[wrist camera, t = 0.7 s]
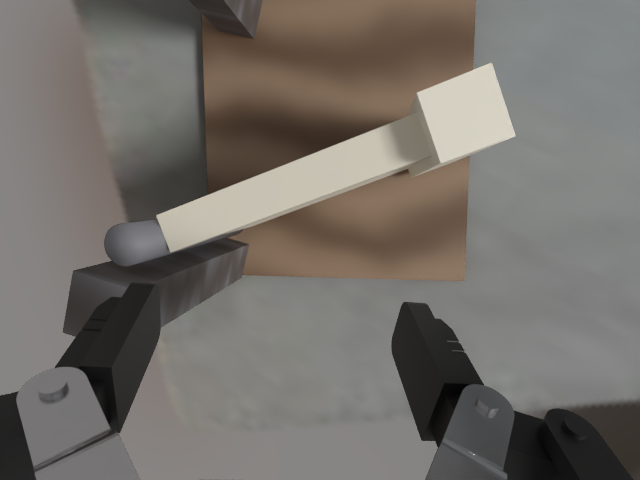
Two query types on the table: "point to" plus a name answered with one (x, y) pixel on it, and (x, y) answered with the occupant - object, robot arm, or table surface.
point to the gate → (332, 169)
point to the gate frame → (314, 146)
